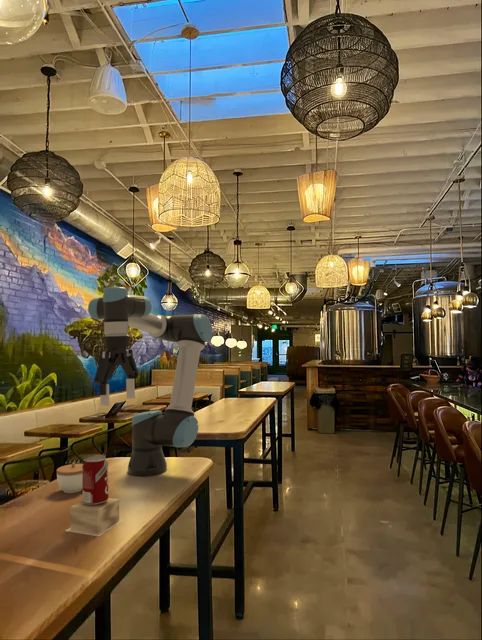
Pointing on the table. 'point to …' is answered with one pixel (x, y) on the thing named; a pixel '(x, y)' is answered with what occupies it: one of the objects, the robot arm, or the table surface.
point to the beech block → (94, 516)
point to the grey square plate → (96, 534)
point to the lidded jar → (70, 478)
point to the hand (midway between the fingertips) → (118, 401)
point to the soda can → (95, 480)
